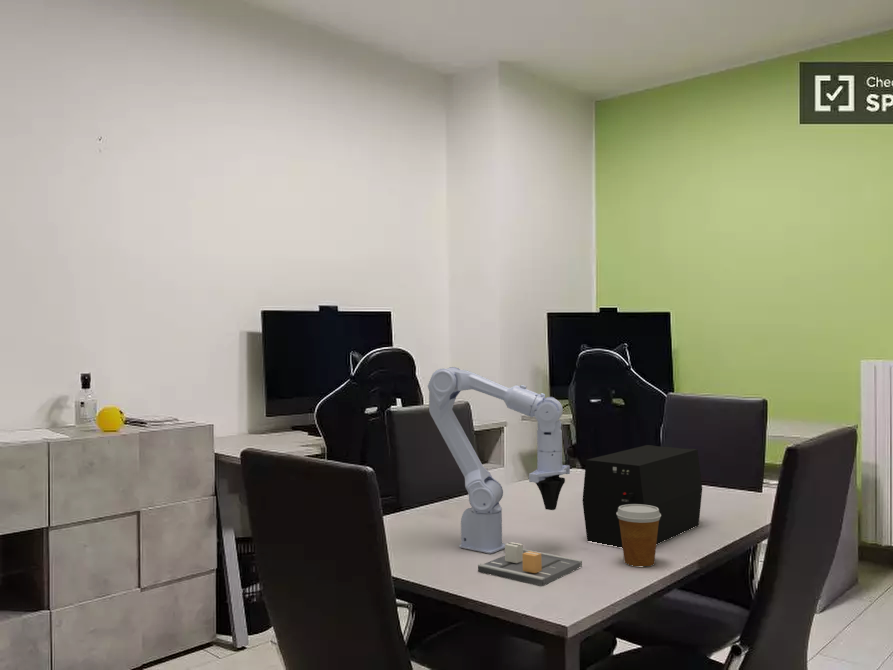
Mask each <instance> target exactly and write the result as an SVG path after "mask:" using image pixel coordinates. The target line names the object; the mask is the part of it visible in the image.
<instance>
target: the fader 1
mask: <svg viewBox="0 0 893 670" xmlns="http://www.w3.org/2000/svg"><path fill="white" fill-rule="evenodd" d="M523 549H524V544H523V543H517V542H513V541H511V542H507V543H505V549H504V556H505V561H508V562H513V563H519V562H521V561H523Z"/></svg>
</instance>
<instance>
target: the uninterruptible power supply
mask: <svg viewBox="0 0 893 670" xmlns="http://www.w3.org/2000/svg"><path fill="white" fill-rule="evenodd" d="M583 478H584V479H583V480H584V482H583V491H582V508H583V516H584V525H585V533H586V540H587V541H592V542H597V543H602V544H607V545H613V546H617V547H622V548H623V546H622V539H621V532H620V525H619V518H618V516H617V515H616V513H617V512H618V507H619V506H622V505H628V504H643V505H651V506H655V507H657V508H658V509H659V512H660V514H661V517H660V520H659V524H658V533H657V543H656V544H658V543H660V542H662V541H664V540H667V539H669V538H671V537H673V536H675V537H677V536H679V535H678V534H680V533H682V532H684V531H686V530H688V531H690V530H692V529H691V528H693V527H695V526H697V527H698V525H699V526H700V516H701V506H702V498H703V497H702V496H703V483H702V474H701V466H700V460H699V452H698V448H697V449H696V448H679V447H670V446H656V445H651V444H645V445H642V446H637V447H634V448H630V449H624V450H621V451H618V452H614V453H609V454H605V455H604V454H603V455H600V456H596V457H592V458H589V459H586V460H585V469H584V477H583ZM695 528H696V527H695ZM689 529H690V530H689ZM693 529H694V528H693ZM686 532H687V531H686ZM684 533H685V532H684ZM682 534H683V533H682ZM676 535H677V536H676ZM680 535H681V534H680ZM673 538H674V537H673ZM671 539H672V538H671ZM669 540H670V539H669ZM587 541H586V542H587ZM667 541H668V540H667ZM664 542H665V541H664ZM662 543H663V542H662ZM660 544H661V543H660ZM658 545H659V544H658Z"/></svg>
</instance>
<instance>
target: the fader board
mask: <svg viewBox="0 0 893 670" xmlns="http://www.w3.org/2000/svg"><path fill="white" fill-rule="evenodd" d="M528 551H531V552H536V553H541V562H542V570H541V571H539V572H537V573H531V572H526V571H523V561H521V562H519V563H513V562H508V561H505V555H502V556H500V557H497V558H494V559H493V560H490V561H487V562H484V563H478V565H477V571H478V573H483V574H486V575H490V574H491V576H495V577H500V578H505V579H509V580H512V581H517V582H522V583H526V584H530V585H535V586H539V587H544V586H546V585H548V584H550V583H552V582H554V581H556V580H558V579H560V578H562V577H564V576H563V575H565V574H567V575H568V573H569V572H571V571H573V570H575V571H577V570H578V569H577V568H579V567H581V568H583V560H582V559H578V558H572V557H568V556H562V555H557V554H552V553H547V552H540V551H535V550H531V549H528V548H527V549H525V548H523V553H525V552H528ZM576 569H577V570H576ZM579 569H580V568H579ZM573 572H574V571H573ZM571 573H572V572H571ZM569 574H570V573H569ZM561 576H562V577H561ZM565 576H566V575H565ZM557 578H558V579H557ZM553 580H554V581H553ZM551 581H552V582H551ZM549 582H550V583H549ZM547 583H548V584H547ZM545 584H546V585H545Z"/></svg>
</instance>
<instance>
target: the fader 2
mask: <svg viewBox="0 0 893 670" xmlns="http://www.w3.org/2000/svg"><path fill="white" fill-rule="evenodd" d="M541 570H542V562H541V553H536V552H531V551H528V552H525V553H523V571H526V572H531V573H537V572H539V571H541Z"/></svg>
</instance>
